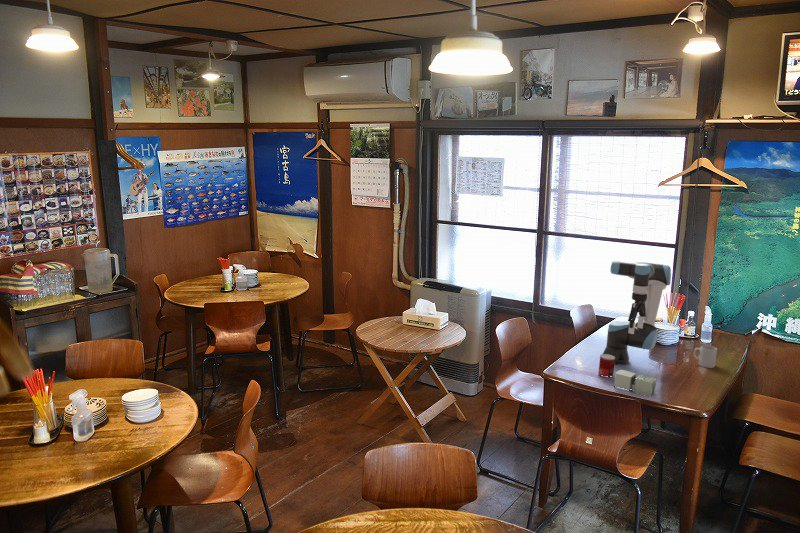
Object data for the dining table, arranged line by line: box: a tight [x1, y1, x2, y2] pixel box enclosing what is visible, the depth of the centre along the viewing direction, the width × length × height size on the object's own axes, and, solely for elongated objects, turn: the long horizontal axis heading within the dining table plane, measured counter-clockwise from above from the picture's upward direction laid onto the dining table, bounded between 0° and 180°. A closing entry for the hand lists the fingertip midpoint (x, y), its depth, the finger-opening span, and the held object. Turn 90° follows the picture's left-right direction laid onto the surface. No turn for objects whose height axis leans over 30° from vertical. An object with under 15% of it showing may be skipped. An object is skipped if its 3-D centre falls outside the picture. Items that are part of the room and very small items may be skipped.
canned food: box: [598, 353, 616, 377], centre depth 343 cm, size 8×8×11 cm
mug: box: [693, 344, 718, 369], centre depth 364 cm, size 12×8×11 cm
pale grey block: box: [630, 374, 657, 398], centre depth 324 cm, size 18×7×8 cm, turn 50°
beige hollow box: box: [613, 369, 637, 391], centre depth 327 cm, size 9×7×8 cm
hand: (635, 330), depth 337 cm, fingers open, 13 cm apart
